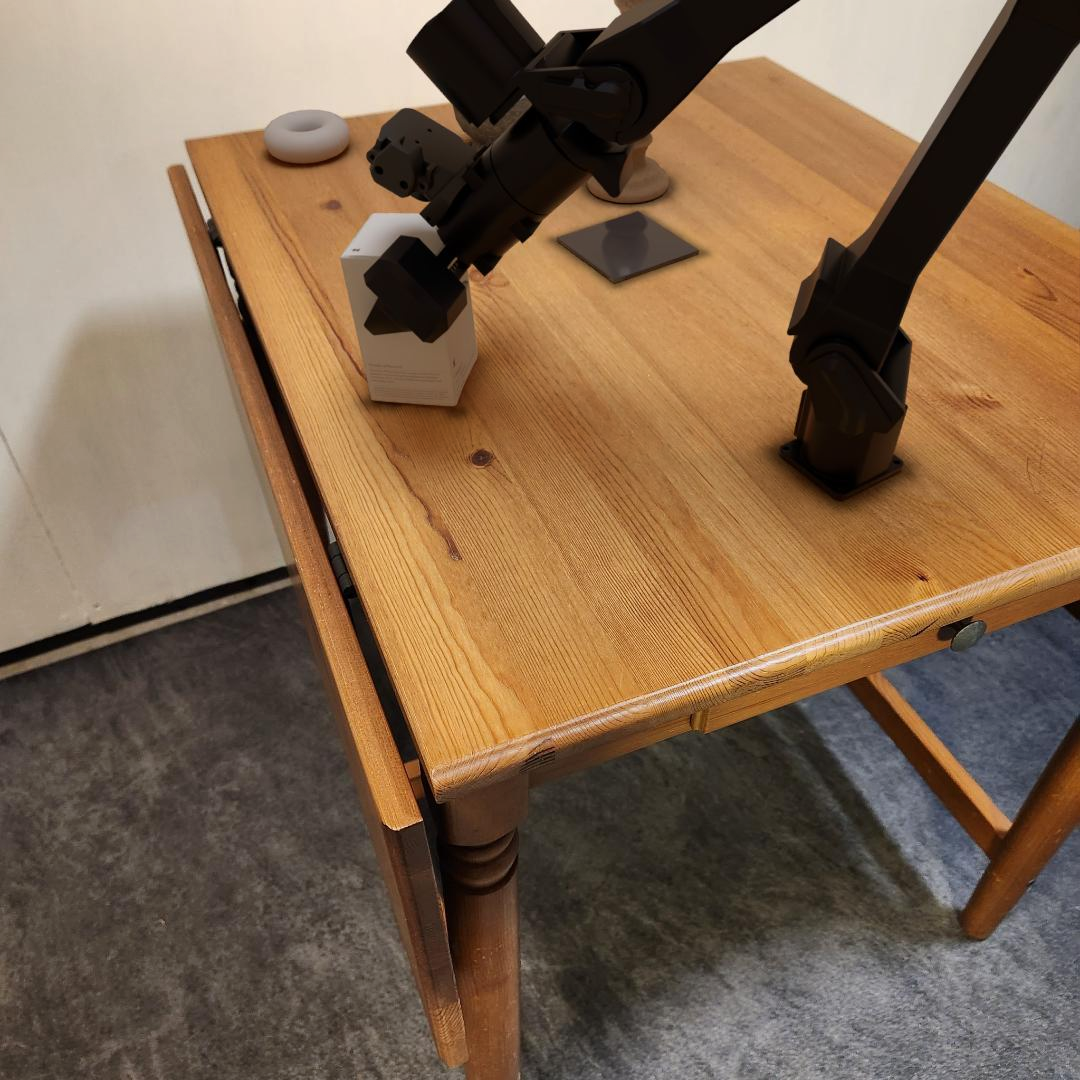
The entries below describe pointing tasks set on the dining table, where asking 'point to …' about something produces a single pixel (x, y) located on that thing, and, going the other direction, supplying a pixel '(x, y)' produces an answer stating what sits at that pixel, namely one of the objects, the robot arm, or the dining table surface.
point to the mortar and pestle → (486, 129)
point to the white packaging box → (402, 358)
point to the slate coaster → (627, 246)
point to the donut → (306, 136)
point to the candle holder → (637, 160)
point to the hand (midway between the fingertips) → (393, 300)
